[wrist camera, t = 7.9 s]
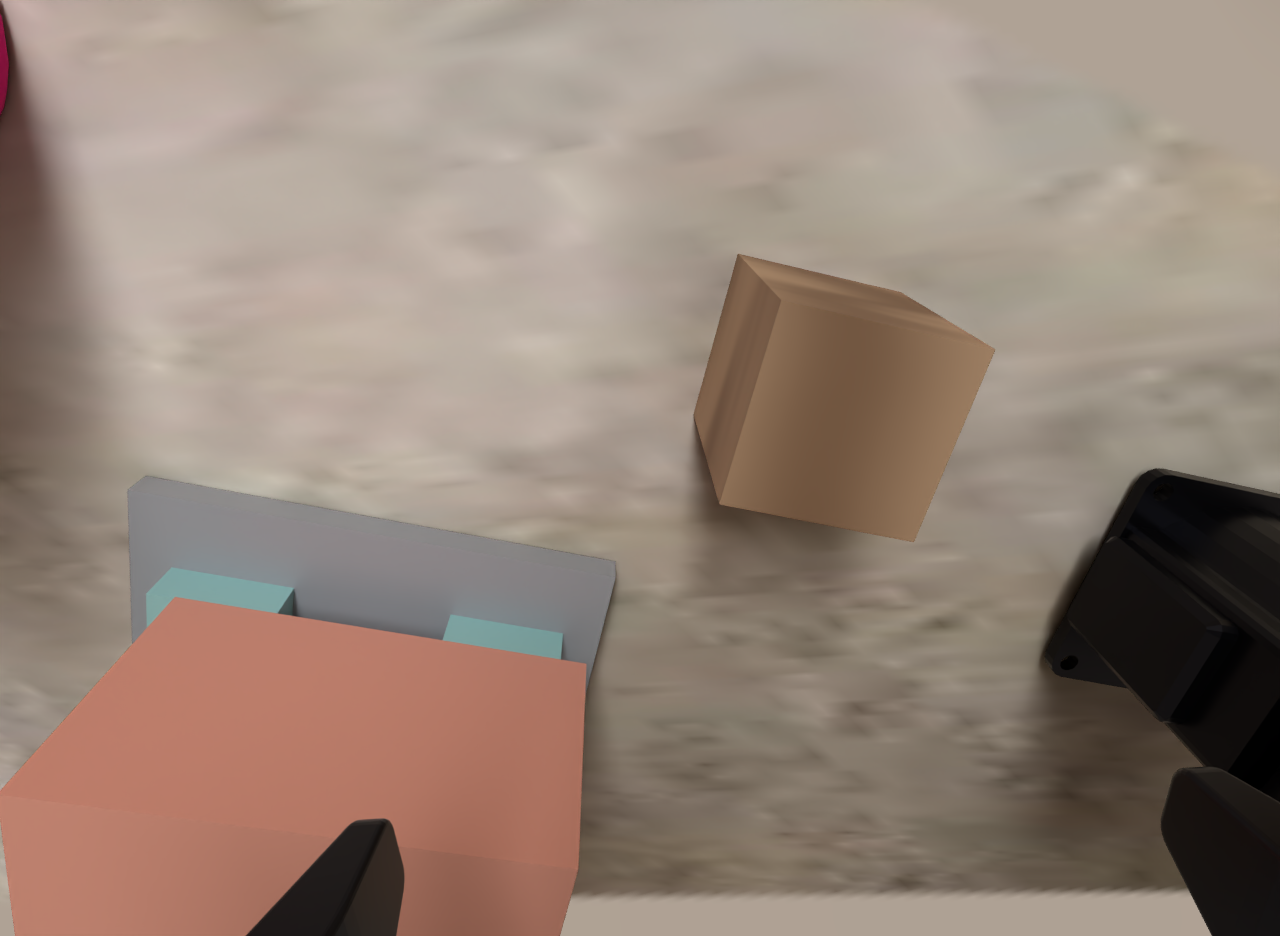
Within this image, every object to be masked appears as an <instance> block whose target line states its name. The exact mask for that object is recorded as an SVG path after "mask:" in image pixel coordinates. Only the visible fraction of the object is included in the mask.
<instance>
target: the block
mask: <svg viewBox="0 0 1280 936" xmlns="http://www.w3.org/2000/svg"><path fill="white" fill-rule="evenodd" d="M994 352H995V349H994V348H992V347H990V346H989V345H987V344H985V343H984V342H982V341H980V340H979V339H977V338H975V337H974V336H972V335H971V334H969V333H967V332H966V331H964V330H962V329H961V328H959V327H957V326H956V325H954V324H952V323H951V322H949V321H947V320H946V319H944V318H942V317H941V316H939V315H937V314H936V313H934V312H932V311H931V310H929V309H928V308H926V307H924V306H923V305H921V304H919V303H918V302H916V301H914V300H913V299H911V298H909V297H908V296H906V295H904V294H903V293H901V292H897V291H893V290H889V289H885V288H880V287H876V286H872V285H868V284H863V283H859V282H855V281H851V280H847V279H842V278H838V277H834V276H830V275H825V274H821V273H817V272H813V271H808V270H804V269H800V268H796V267H792V266H787V265H783V264H779V263H775V262H770V261H766V260H762V259H758V258H753V257H749V256H745V255H741V254H738V255H737V259H736V263H735V266H734V270H733V274H732V277H731V281H730V284H729V288H728V292H727V295H726V299H725V303H724V306H723V310H722V313H721V317H720V321H719V324H718V328H717V332H716V335H715V339H714V342H713V346H712V350H711V353H710V357H709V361H708V364H707V368H706V372H705V375H704V379H703V382H702V386H701V390H700V393H699V397H698V401H697V404H696V408H695V411H694V417H695V421H696V424H697V428H698V432H699V435H700V439H701V442H702V446H703V449H704V453H705V456H706V460H707V463H708V467H709V470H710V474H711V477H712V481H713V484H714V488H715V491H716V495H717V498H718V502H719V504H720V505H725V506H730V507H735V508H741V509H746V510H751V511H756V512H761V513H766V514H771V515H777V516H782V517H787V518H792V519H797V520H802V521H807V522H813V523H818V524H823V525H828V526H833V527H838V528H844V529H849V530H854V531H859V532H864V533H869V534H874V535H880V536H885V537H890V538H895V539H900V540H905V541H910V542H914V541H915V538H916V536H917V533H918V531H919V529H920V526H921V524H922V522H923V519H924V517H925V515H926V512H927V510H928V508H929V505H930V503H931V500H932V498H933V496H934V493H935V491H936V489H937V486H938V484H939V482H940V479H941V477H942V474H943V472H944V470H945V467H946V465H947V463H948V460H949V458H950V456H951V453H952V451H953V449H954V446H955V444H956V441H957V439H958V437H959V434H960V432H961V430H962V427H963V425H964V423H965V420H966V418H967V415H968V413H969V411H970V408H971V406H972V404H973V401H974V399H975V397H976V394H977V392H978V390H979V387H980V385H981V382H982V380H983V378H984V375H985V373H986V371H987V368H988V366H989V364H990V361H991V359H992V356H993V354H994Z"/></svg>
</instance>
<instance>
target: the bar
mask: <svg viewBox="0 0 1280 936" xmlns="http://www.w3.org/2000/svg"><path fill="white" fill-rule="evenodd" d="M585 689H586V664H585V663H579V662H573V661H567V660H561V659H555V658H549V657H542V656H536V655H530V654H524V653H518V652H512V651H505V650H499V649H493V648H487V647H481V646H475V645H469V644H462V643H456V642H450V641H444V640H438V639H432V638H425V637H419V636H413V635H407V634H401V633H395V632H388V631H382V630H376V629H370V628H364V627H358V626H352V625H345V624H339V623H333V622H327V621H321V620H315V619H308V618H302V617H296V616H290V615H284V614H278V613H272V612H265V611H259V610H253V609H247V608H241V607H235V606H228V605H222V604H216V603H210V602H204V601H198V600H192V599H185V598H179V597H174V598H173V599H172V601H171V602H170V603H169V604H168V605H167V606H166V607H165V608H164V609H163V611H162V612H161V613H160V614H159V615H158V616H157V617H156V618H155V619H154V621H153V622H152V623H151V624H150V625H149V626H148V627H147V628H146V629H145V631H144V632H143V633H142V634H141V635H140V636H139V637H138V638H137V639H136V641H135V642H134V643H133V644H132V645H131V646H130V647H129V648H128V649H127V651H126V652H125V653H124V654H123V655H122V656H121V657H120V658H119V659H118V661H117V662H116V663H115V664H114V665H113V666H112V667H111V668H110V669H109V671H108V672H107V673H106V674H105V675H104V676H103V677H102V678H101V679H100V681H99V682H98V683H97V684H96V685H95V686H94V687H93V688H92V689H91V691H90V692H89V693H88V694H87V695H86V696H85V697H84V698H83V699H82V701H81V702H80V703H79V704H78V705H77V706H76V707H75V708H74V709H73V711H72V712H71V713H70V714H69V715H68V716H67V717H66V718H65V719H64V721H63V722H62V723H61V724H60V725H59V726H58V727H57V728H56V729H55V731H54V732H53V733H52V734H51V735H50V736H49V737H48V738H47V739H46V741H45V742H44V743H43V744H42V745H41V746H40V747H39V748H38V749H37V751H36V752H35V753H34V754H33V755H32V756H31V757H30V758H29V759H28V761H27V762H26V763H25V764H24V765H23V766H22V767H21V768H20V769H19V771H18V772H17V773H16V774H15V775H14V776H13V777H12V778H11V779H10V781H9V782H8V783H7V784H6V785H5V786H4V787H3V788H2V789H1V791H0V822H1V830H2V838H3V846H4V853H5V861H6V869H7V877H8V884H9V892H10V900H11V908H12V916H13V923H14V931H15V936H246V935H247V934H248V932H249V931H250V930H251V929H252V928H253V927H254V926H255V925H256V924H257V923H258V922H259V921H260V920H261V919H262V917H263V916H264V915H265V914H266V913H267V912H268V911H269V910H270V909H271V908H272V907H273V906H274V905H275V903H276V902H277V901H278V900H279V899H280V898H281V897H282V896H283V895H284V894H285V893H286V892H287V891H288V890H289V888H290V887H291V886H292V885H293V884H294V883H295V882H296V881H297V880H298V879H299V878H300V877H301V876H302V875H303V873H304V872H305V871H306V870H307V869H308V868H309V867H310V866H311V865H312V864H313V863H314V862H315V861H316V859H317V858H318V857H319V856H320V855H321V854H322V853H323V852H324V851H325V850H326V849H327V848H328V847H329V846H330V844H331V843H332V842H333V841H334V840H335V839H336V838H337V837H338V836H339V835H340V834H341V833H342V832H343V831H344V829H345V828H346V827H347V826H348V825H349V824H351V823H352V822H354V821H356V820H363V819H379V818H385V819H388V820H390V822H391V823H392V825H393V828H394V831H395V835H396V839H397V843H398V847H399V851H400V854H401V858H402V862H403V866H404V874H405V883H404V892H403V898H402V904H401V910H400V917H399V923H398V929H397V935H396V936H560V934H561V930H562V926H563V922H564V919H565V916H566V912H567V909H568V905H569V901H570V898H571V894H572V891H573V887H574V884H575V880H576V876H577V873H578V868H579V842H580V817H581V791H582V765H583V740H584V714H585Z"/></svg>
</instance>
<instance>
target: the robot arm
mask: <svg viewBox="0 0 1280 936" xmlns="http://www.w3.org/2000/svg"><path fill="white" fill-rule="evenodd" d="M1162 484H1163V487H1162V489H1161V490H1160V491H1159V492H1157V493H1155V494H1154V490H1155V489H1156V488H1157V487H1158V486H1160V485H1162ZM1067 656H1069V657H1068V658H1067V659H1066V660H1063V658H1065V657H1067ZM1062 660H1063V661H1062ZM1045 662H1046V663H1047V664H1048V666H1049V667H1050V668H1051V669H1052V671H1053V672H1054V673H1055V674H1056V675H1059V676H1061V677H1066V678H1072V679H1078V680H1083V681H1089V682H1095V683H1100V684H1106V685H1112V686H1117V687H1123V688H1128V689H1129V690H1130V691H1131V692H1132V693H1133V694H1134V695H1135V696H1136V698H1137V699H1138V700H1139V701H1140V702H1141V703H1142V704H1143V705H1144V706H1145V707H1146V709H1147V710H1148V711H1149V712H1150V713H1151V714H1152V715H1153V716H1154V717H1155V718H1156V719H1157V720H1159V721H1161V722H1164V723H1165V724H1166V726H1167V727H1168V728H1169V729H1170V730H1171V731H1172V732H1173V733H1174V734H1175V735H1176V737H1177V738H1178V739H1179V740H1180V741H1181V742H1182V743H1183V744H1184V745H1185V746H1186V747H1187V749H1188V750H1189V751H1190V752H1191V753H1192V754H1193V755H1194V756H1195V757H1196V758H1197V759H1198V761H1199V762H1200V763H1201V764H1202V765H1203V766H1204V767H1193V768H1182V769H1179V770H1178V771H1177V772H1176V773H1175V774H1174V775H1173V777H1172V780H1171V784H1170V788H1169V791H1168V795H1167V798H1166V802H1165V806H1164V809H1163V813H1162V817H1161V831H1162V835H1163V838H1164V841H1165V844H1166V846H1167V848H1168V850H1169V852H1170V854H1171V856H1172V858H1173V860H1174V862H1175V864H1176V866H1177V868H1178V870H1179V872H1180V874H1181V876H1182V877H1183V879H1184V881H1185V883H1186V885H1187V887H1188V889H1189V891H1190V893H1191V895H1192V897H1193V899H1194V901H1195V903H1196V905H1197V907H1198V909H1199V911H1200V913H1201V915H1202V917H1203V919H1204V921H1205V923H1206V925H1207V927H1208V929H1209V931H1210V933H1211V935H1212V936H1280V494H1277V493H1273V492H1268V491H1264V490H1259V489H1254V488H1250V487H1245V486H1240V485H1236V484H1231V483H1227V482H1222V481H1217V480H1213V479H1208V478H1204V477H1199V476H1194V475H1190V474H1185V473H1180V472H1176V471H1171V470H1167V469H1153V470H1150V471H1147V472H1146V473H1145V474H1143V475H1142V476H1141V477H1140V478H1139V479H1138V481H1137V482H1136V484H1135V486H1134V488H1133V490H1132V491H1131V493H1130V495H1129V497H1128V499H1127V501H1126V503H1125V505H1124V506H1123V508H1122V510H1121V512H1120V514H1119V516H1118V518H1117V519H1116V521H1115V523H1114V525H1113V527H1112V529H1111V531H1110V533H1109V534H1108V536H1107V538H1106V540H1105V542H1104V544H1103V546H1102V548H1101V549H1100V551H1099V553H1098V555H1097V557H1096V559H1095V561H1094V563H1093V564H1092V566H1091V568H1090V570H1089V572H1088V574H1087V576H1086V577H1085V579H1084V581H1083V583H1082V585H1081V587H1080V589H1079V591H1078V592H1077V594H1076V596H1075V598H1074V600H1073V602H1072V604H1071V606H1070V607H1069V609H1068V611H1067V613H1066V615H1065V617H1064V619H1063V621H1062V622H1061V624H1060V626H1059V628H1058V630H1057V632H1056V634H1055V635H1054V637H1053V639H1052V641H1051V643H1050V645H1049V647H1048V649H1047V650H1046V653H1045ZM404 883H405V874H404V866H403V862H402V858H401V854H400V851H399V847H398V843H397V839H396V835H395V831H394V828H393V825H392V823H391V822H390V820H388V819H385V818H379V819H363V820H356V821H354V822H352V823H351V824H349V825H348V826H347V827H346V828H345V829H344V831H343V832H342V833H341V834H340V835H339V836H338V837H337V838H336V839H335V840H334V841H333V842H332V843H331V844H330V846H329V847H328V848H327V849H326V850H325V851H324V852H323V853H322V854H321V855H320V856H319V857H318V858H317V859H316V861H315V862H314V863H313V864H312V865H311V866H310V867H309V868H308V869H307V870H306V871H305V872H304V873H303V875H302V876H301V877H300V878H299V879H298V880H297V881H296V882H295V883H294V884H293V885H292V886H291V887H290V888H289V890H288V891H287V892H286V893H285V894H284V895H283V896H282V897H281V898H280V899H279V900H278V901H277V902H276V903H275V905H274V906H273V907H272V908H271V909H270V910H269V911H268V912H267V913H266V914H265V915H264V916H263V917H262V919H261V920H260V921H259V922H258V923H257V924H256V925H255V926H254V927H253V928H252V929H251V930H250V931H249V932H248V934H247V935H246V936H396V935H397V929H398V923H399V917H400V910H401V904H402V898H403V892H404Z"/></svg>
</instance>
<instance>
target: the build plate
mask: <svg viewBox="0 0 1280 936" xmlns="http://www.w3.org/2000/svg"><path fill="white" fill-rule="evenodd" d="M128 520H129V553H130V586H131V620H132V644H133V643H134V642H135V641H136V639H137V638H138V637H139V636H140V635H141V634H142V633H143V632H144V631H145V629H146V628H147V627H148V626H149V625H150V624H151V623H152V622H153V621H154V619H155V618H156V617H157V616H158V615H159V614H160V613H161V612H162V611H163V609H164V608H165V607H166V606H167V605H168V604H169V603H170V602H171V601H172V599H173V598H174V597H179V598H185V599H192V600H198V601H204V602H210V603H216V604H222V605H228V606H235V607H241V608H247V609H253V610H259V611H265V612H272V613H278V614H284V615H290V616H296V617H302V618H308V619H315V620H321V621H327V622H333V623H339V624H345V625H352V626H358V627H364V628H370V629H376V630H382V631H388V632H395V633H401V634H407V635H413V636H419V637H425V638H432V639H438V640H444V641H450V642H456V643H462V644H469V645H475V646H481V647H487V648H493V649H499V650H505V651H512V652H518V653H524V654H530V655H536V656H542V657H549V658H555V659H561V660H567V661H573V662H579V663H585V664H586V689H585V695H586V691H587V687H588V683H589V679H590V675H591V671H592V668H593V664H594V660H595V656H596V652H597V648H598V644H599V640H600V636H601V632H602V629H603V625H604V621H605V617H606V613H607V609H608V605H609V601H610V597H611V594H612V590H613V586H614V582H615V578H616V569H615V561H610V560H605V559H599V558H594V557H588V556H583V555H577V554H572V553H566V552H561V551H555V550H550V549H544V548H539V547H533V546H528V545H522V544H517V543H511V542H506V541H500V540H495V539H489V538H484V537H478V536H473V535H467V534H462V533H456V532H451V531H445V530H440V529H434V528H429V527H423V526H418V525H412V524H407V523H401V522H396V521H390V520H385V519H379V518H374V517H368V516H363V515H357V514H352V513H346V512H341V511H335V510H330V509H324V508H319V507H313V506H308V505H303V504H297V503H292V502H286V501H281V500H275V499H270V498H264V497H259V496H253V495H248V494H242V493H237V492H231V491H226V490H220V489H215V488H209V487H204V486H198V485H193V484H187V483H182V482H176V481H171V480H165V479H160V478H154V477H149V476H145V477H143V478H142V479H141V480H140V481H138V482H137V483H136V484H134V485H133V486H132V487H131V488H129V489H128Z"/></svg>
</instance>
